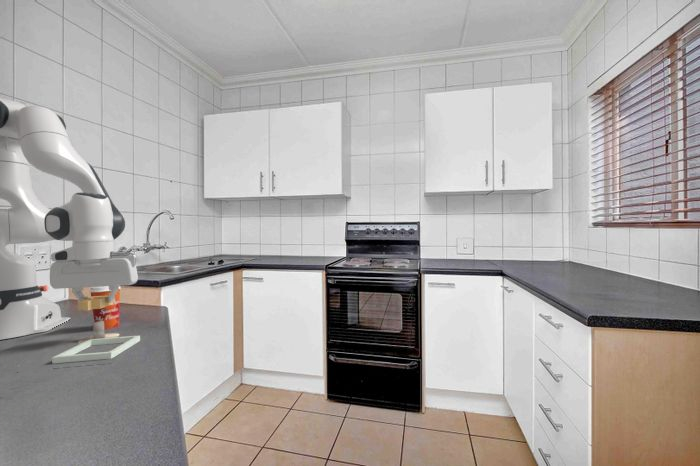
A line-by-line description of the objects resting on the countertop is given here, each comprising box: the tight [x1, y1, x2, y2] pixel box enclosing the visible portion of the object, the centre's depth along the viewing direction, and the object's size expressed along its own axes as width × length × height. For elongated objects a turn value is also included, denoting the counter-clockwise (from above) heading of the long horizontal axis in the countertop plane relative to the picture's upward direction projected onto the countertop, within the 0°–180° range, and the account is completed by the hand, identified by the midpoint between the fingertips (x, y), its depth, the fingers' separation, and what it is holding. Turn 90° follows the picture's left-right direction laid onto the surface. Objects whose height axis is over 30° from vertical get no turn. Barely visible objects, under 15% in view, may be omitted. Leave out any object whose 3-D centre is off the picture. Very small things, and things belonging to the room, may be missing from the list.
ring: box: [77, 296, 113, 312], centre depth 86 cm, size 7×5×2 cm
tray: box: [51, 335, 141, 370], centre depth 76 cm, size 12×12×2 cm
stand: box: [77, 321, 120, 345], centre depth 87 cm, size 9×9×6 cm
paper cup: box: [89, 286, 122, 331], centre depth 98 cm, size 8×8×14 cm
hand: (96, 303), depth 87 cm, fingers closed on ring, 5 cm apart
